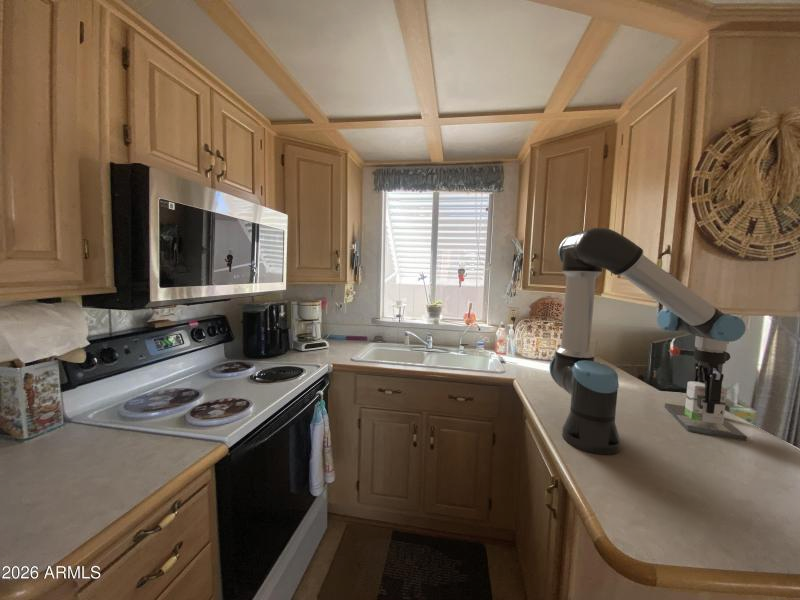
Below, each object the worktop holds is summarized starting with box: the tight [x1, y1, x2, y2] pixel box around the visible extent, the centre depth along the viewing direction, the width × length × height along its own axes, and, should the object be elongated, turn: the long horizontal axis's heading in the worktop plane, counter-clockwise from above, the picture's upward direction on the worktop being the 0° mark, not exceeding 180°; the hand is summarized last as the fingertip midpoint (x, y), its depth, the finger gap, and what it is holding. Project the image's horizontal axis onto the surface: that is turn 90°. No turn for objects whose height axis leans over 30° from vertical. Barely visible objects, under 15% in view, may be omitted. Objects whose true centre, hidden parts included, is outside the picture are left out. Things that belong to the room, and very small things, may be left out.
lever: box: [669, 346, 731, 362], centre depth 116 cm, size 3×17×4 cm, turn 67°
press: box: [664, 364, 748, 442], centre depth 111 cm, size 21×14×25 cm
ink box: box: [684, 380, 728, 424], centre depth 106 cm, size 9×5×12 cm, turn 71°
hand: (703, 417), depth 107 cm, fingers closed on ink box, 5 cm apart
